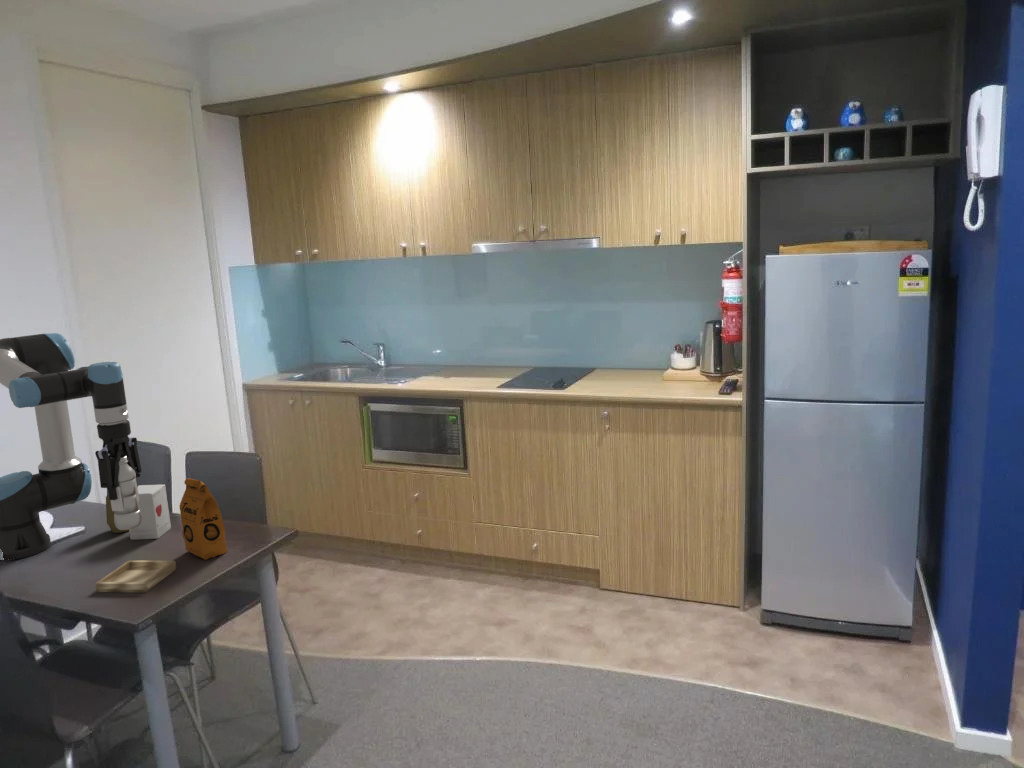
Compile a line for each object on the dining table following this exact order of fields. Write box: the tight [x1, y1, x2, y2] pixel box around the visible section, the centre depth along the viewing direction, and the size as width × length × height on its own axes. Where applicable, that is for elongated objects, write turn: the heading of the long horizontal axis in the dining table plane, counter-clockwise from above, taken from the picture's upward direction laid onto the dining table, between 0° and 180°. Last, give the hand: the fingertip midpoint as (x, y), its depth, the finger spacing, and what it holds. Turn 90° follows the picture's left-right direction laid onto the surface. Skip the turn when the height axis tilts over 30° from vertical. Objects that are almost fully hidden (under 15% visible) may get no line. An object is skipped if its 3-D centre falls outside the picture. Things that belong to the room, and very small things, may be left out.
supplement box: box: [128, 484, 172, 541], centre depth 228 cm, size 9×9×15 cm
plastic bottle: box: [114, 455, 142, 530], centre depth 193 cm, size 6×7×20 cm
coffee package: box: [179, 477, 228, 561], centre depth 212 cm, size 10×12×22 cm
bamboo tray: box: [94, 559, 177, 594], centre depth 197 cm, size 14×14×2 cm
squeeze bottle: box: [105, 492, 129, 534], centre depth 232 cm, size 8×8×18 cm
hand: (126, 505), depth 193 cm, fingers closed on plastic bottle, 6 cm apart
